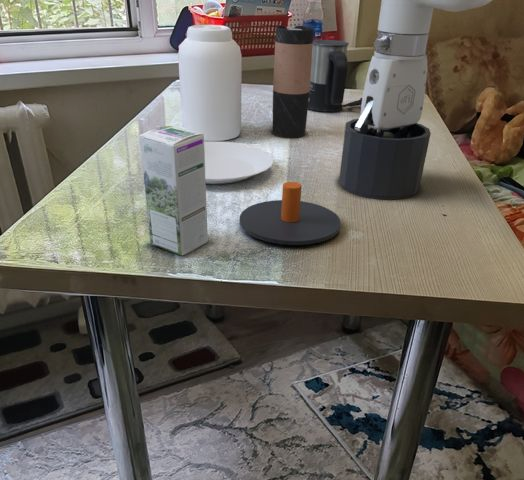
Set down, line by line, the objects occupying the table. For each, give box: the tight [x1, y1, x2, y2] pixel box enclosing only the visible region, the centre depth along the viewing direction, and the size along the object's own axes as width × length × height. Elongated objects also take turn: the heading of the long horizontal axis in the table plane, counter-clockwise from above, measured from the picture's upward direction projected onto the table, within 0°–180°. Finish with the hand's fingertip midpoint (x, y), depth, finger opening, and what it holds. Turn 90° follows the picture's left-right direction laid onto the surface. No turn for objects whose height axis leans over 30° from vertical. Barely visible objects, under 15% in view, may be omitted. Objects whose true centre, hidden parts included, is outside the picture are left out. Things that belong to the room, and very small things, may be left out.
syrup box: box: [139, 125, 209, 257], centre depth 69 cm, size 6×6×14 cm
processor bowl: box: [338, 118, 432, 200], centre depth 92 cm, size 14×14×10 cm
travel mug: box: [272, 25, 315, 139], centre depth 113 cm, size 8×8×20 cm
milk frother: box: [308, 39, 362, 112], centre depth 134 cm, size 14×16×15 cm
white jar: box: [177, 24, 243, 142], centre depth 111 cm, size 12×12×20 cm
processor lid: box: [239, 181, 342, 246], centre depth 78 cm, size 15×15×6 cm
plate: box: [204, 141, 275, 185], centre depth 97 cm, size 21×21×2 cm
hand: (381, 166), depth 93 cm, fingers open, 4 cm apart
